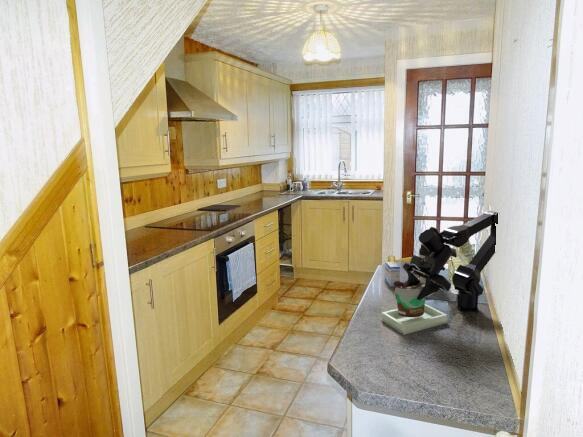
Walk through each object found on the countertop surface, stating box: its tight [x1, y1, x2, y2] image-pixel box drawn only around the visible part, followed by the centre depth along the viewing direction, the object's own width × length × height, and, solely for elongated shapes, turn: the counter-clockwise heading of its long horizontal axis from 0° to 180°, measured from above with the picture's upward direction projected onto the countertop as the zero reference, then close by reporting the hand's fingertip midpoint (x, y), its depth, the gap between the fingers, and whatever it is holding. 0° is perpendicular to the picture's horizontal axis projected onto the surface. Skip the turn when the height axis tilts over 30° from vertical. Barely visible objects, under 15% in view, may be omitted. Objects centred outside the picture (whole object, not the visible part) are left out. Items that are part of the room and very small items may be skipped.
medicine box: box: [384, 261, 401, 287], centre depth 182 cm, size 8×4×9 cm, turn 5°
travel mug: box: [418, 241, 432, 283], centre depth 179 cm, size 8×8×18 cm
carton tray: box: [381, 303, 448, 335], centre depth 144 cm, size 18×12×3 cm, turn 114°
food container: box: [394, 282, 426, 317], centre depth 143 cm, size 12×6×10 cm, turn 114°
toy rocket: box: [394, 279, 422, 296], centre depth 168 cm, size 7×7×15 cm
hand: (411, 296), depth 142 cm, fingers closed on food container, 6 cm apart
